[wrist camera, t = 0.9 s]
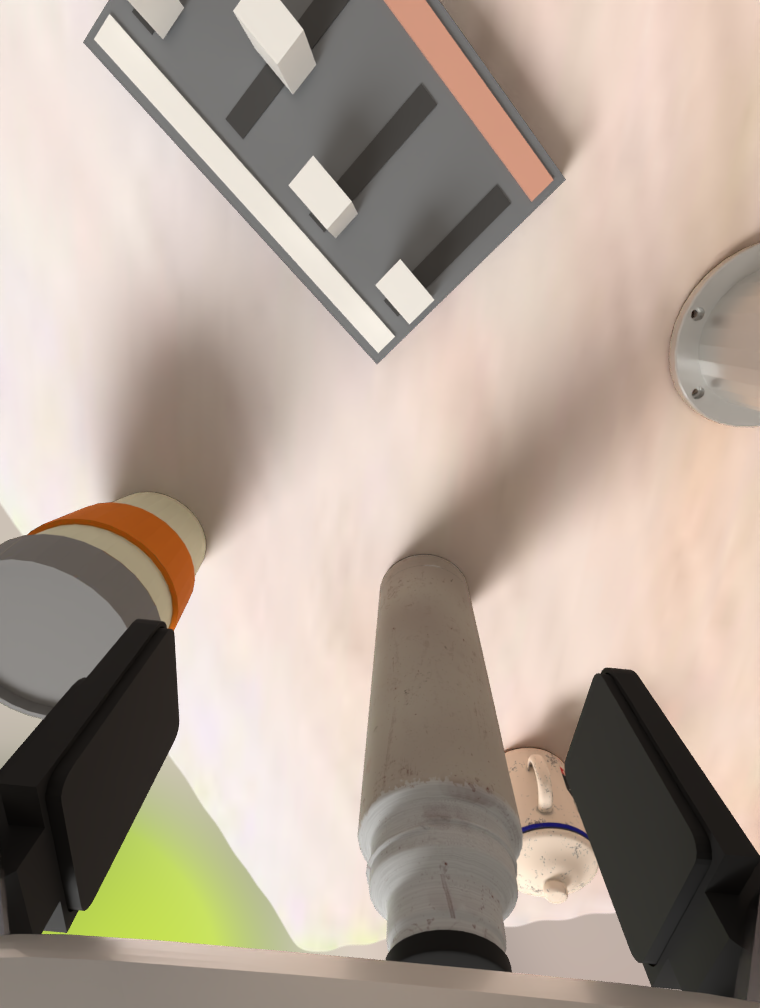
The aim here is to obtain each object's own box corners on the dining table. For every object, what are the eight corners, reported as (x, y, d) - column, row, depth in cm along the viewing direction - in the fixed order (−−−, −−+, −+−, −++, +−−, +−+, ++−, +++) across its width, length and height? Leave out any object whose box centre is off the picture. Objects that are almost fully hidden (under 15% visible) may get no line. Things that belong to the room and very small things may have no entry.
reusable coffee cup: (172, 622, 47) (74, 754, 33) (60, 537, 44) (-100, 643, 30) (254, 540, 43) (182, 650, 29) (137, 441, 40) (-5, 511, 26)
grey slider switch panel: (274, -202, 26) (234, -359, 20) (554, 188, 32) (589, 160, 26) (107, 62, 31) (32, 0, 25) (378, 360, 37) (373, 371, 31)
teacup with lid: (566, 805, 53) (607, 931, 43) (482, 805, 54) (501, 930, 43) (574, 721, 49) (622, 838, 38) (483, 723, 50) (504, 838, 39)
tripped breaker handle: (277, 16, 27) (259, -27, 24) (316, 64, 28) (303, 29, 25) (254, 48, 28) (233, 11, 24) (293, 94, 29) (277, 64, 25)
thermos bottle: (455, 636, 46) (521, 1065, 20) (372, 620, 46) (328, 1033, 20) (478, 563, 43) (589, 955, 17) (389, 546, 43) (363, 915, 17)
